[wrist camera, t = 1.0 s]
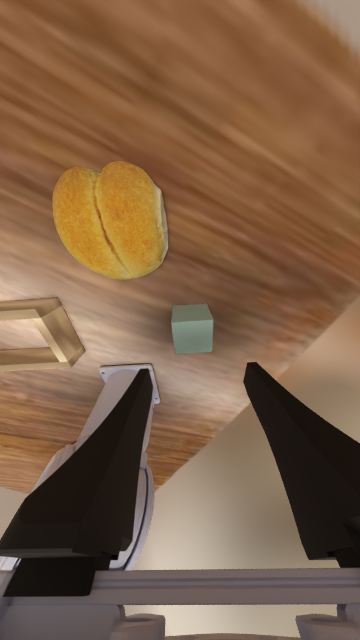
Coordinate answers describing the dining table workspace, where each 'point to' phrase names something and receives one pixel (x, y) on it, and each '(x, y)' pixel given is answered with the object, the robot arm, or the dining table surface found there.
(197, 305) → the teal block
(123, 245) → the bread roll
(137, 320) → the dining table surface
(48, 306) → the organiser frame
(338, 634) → the robot arm
